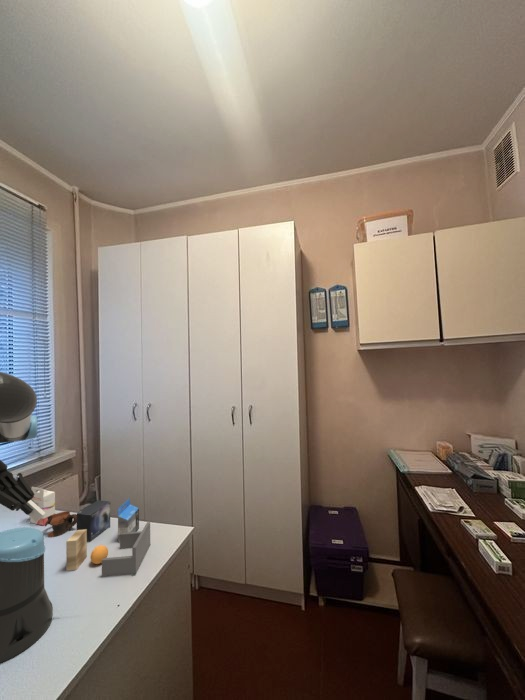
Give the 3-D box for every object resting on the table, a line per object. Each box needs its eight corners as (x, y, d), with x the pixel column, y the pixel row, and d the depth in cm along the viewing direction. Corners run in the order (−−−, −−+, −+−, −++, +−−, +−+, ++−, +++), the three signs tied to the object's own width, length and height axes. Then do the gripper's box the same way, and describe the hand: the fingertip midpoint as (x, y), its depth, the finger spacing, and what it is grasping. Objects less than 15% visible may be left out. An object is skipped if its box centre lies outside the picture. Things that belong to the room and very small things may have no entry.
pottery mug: (38, 543, 105) (39, 518, 109) (54, 540, 114) (54, 517, 117) (72, 530, 107) (72, 507, 111) (86, 528, 116) (85, 507, 119)
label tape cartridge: (127, 544, 102) (127, 509, 103) (117, 544, 102) (117, 509, 103) (139, 529, 111) (139, 497, 112) (129, 529, 111) (129, 497, 112)
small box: (90, 544, 103) (90, 514, 103) (75, 542, 104) (75, 513, 105) (111, 527, 113) (111, 500, 114) (97, 526, 114) (97, 499, 115)
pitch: (135, 577, 86) (135, 548, 86) (51, 584, 84) (51, 555, 85) (150, 545, 101) (150, 521, 101) (80, 551, 99) (80, 526, 99)
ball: (103, 567, 90) (103, 551, 90) (87, 568, 90) (87, 552, 90) (110, 556, 95) (110, 541, 95) (95, 557, 95) (95, 542, 95)
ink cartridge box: (56, 519, 120) (56, 484, 121) (43, 526, 116) (43, 489, 116) (42, 516, 123) (42, 482, 124) (29, 522, 119) (29, 486, 119)
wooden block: (76, 569, 89) (76, 540, 89) (66, 570, 89) (66, 541, 89) (86, 556, 95) (86, 529, 95) (77, 557, 95) (77, 530, 95)
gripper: (-6, 469, 97) (46, 515, 98) (-44, 485, 84) (16, 539, 85) (11, 452, 98) (62, 498, 99) (-24, 466, 85) (35, 519, 86)
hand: (41, 517), depth 92 cm, fingers closed
